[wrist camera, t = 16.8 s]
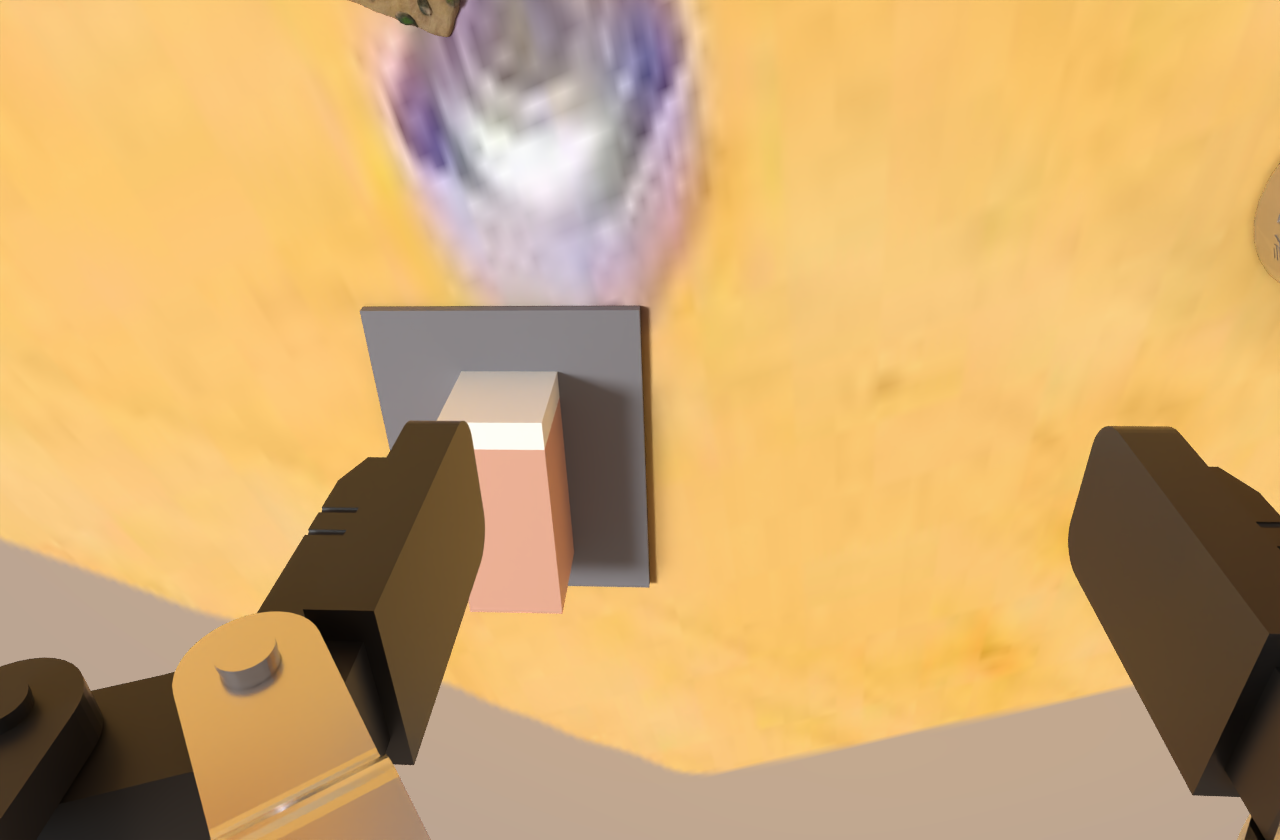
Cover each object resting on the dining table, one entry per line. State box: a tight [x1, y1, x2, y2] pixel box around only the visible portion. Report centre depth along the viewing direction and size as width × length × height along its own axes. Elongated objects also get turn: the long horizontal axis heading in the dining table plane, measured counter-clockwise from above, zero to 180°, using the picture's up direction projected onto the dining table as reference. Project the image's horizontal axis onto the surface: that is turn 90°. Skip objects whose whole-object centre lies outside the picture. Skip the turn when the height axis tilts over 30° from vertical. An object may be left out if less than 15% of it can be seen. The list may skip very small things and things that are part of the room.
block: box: [437, 371, 574, 614], centre depth 46 cm, size 5×5×12 cm
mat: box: [360, 306, 650, 587], centre depth 48 cm, size 14×18×1 cm
